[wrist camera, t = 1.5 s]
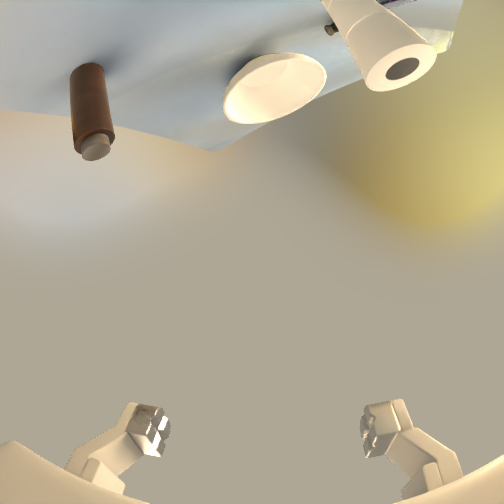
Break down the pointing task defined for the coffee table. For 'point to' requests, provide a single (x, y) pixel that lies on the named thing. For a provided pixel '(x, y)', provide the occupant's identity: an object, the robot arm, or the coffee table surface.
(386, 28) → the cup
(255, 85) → the bowl
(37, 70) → the coffee table surface
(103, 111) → the pepper mill
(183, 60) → the coffee table surface
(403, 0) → the knife
